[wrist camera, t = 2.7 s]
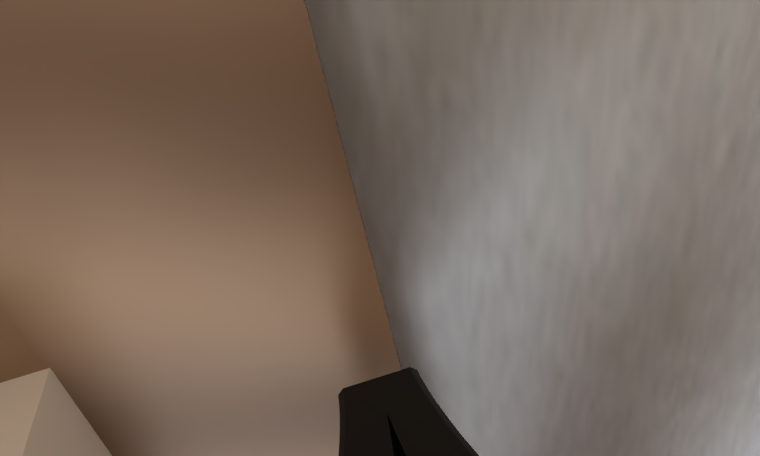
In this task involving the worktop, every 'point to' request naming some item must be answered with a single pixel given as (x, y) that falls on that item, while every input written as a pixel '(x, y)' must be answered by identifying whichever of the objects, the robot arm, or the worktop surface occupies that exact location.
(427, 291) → the worktop surface
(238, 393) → the board
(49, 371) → the tile
